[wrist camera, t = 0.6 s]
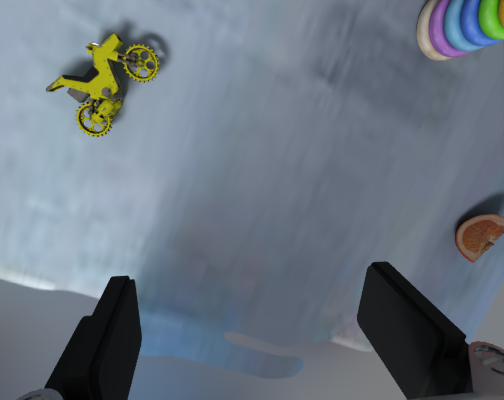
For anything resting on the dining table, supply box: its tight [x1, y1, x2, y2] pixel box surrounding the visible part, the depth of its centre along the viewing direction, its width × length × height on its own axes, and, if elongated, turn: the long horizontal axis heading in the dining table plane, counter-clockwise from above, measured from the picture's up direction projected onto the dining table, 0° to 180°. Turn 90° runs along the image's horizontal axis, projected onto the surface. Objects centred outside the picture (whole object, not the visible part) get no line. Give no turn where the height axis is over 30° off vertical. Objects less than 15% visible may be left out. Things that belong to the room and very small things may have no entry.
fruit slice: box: [455, 214, 504, 262], centre depth 47 cm, size 8×7×5 cm
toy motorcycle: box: [46, 33, 160, 137], centre depth 31 cm, size 12×4×7 cm
